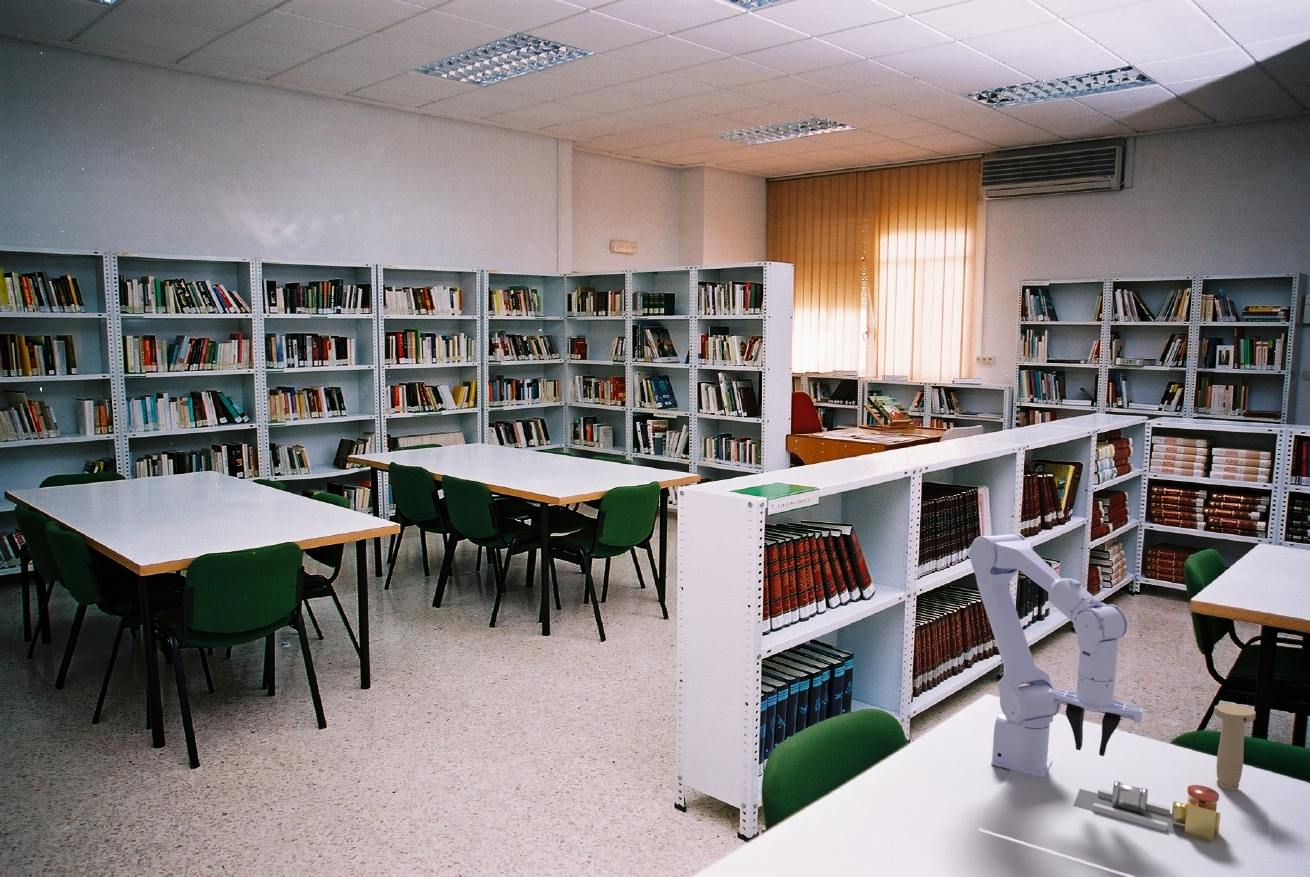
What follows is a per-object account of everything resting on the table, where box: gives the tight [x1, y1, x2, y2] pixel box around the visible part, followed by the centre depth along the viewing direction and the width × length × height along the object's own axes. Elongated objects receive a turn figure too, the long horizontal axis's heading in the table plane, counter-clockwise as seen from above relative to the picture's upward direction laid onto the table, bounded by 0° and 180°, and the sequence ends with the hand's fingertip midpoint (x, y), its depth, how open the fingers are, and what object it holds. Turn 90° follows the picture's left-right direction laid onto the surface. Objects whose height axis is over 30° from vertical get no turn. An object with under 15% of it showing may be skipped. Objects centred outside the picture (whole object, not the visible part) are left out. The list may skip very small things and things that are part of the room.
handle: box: [1213, 703, 1257, 792], centre depth 160 cm, size 5×6×15 cm
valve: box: [1171, 784, 1221, 843], centre depth 146 cm, size 7×5×7 cm
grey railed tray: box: [1073, 788, 1211, 845], centre depth 151 cm, size 20×7×1 cm, turn 56°
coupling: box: [1112, 780, 1149, 815], centre depth 152 cm, size 5×4×4 cm
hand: (1090, 750), depth 155 cm, fingers open, 3 cm apart
